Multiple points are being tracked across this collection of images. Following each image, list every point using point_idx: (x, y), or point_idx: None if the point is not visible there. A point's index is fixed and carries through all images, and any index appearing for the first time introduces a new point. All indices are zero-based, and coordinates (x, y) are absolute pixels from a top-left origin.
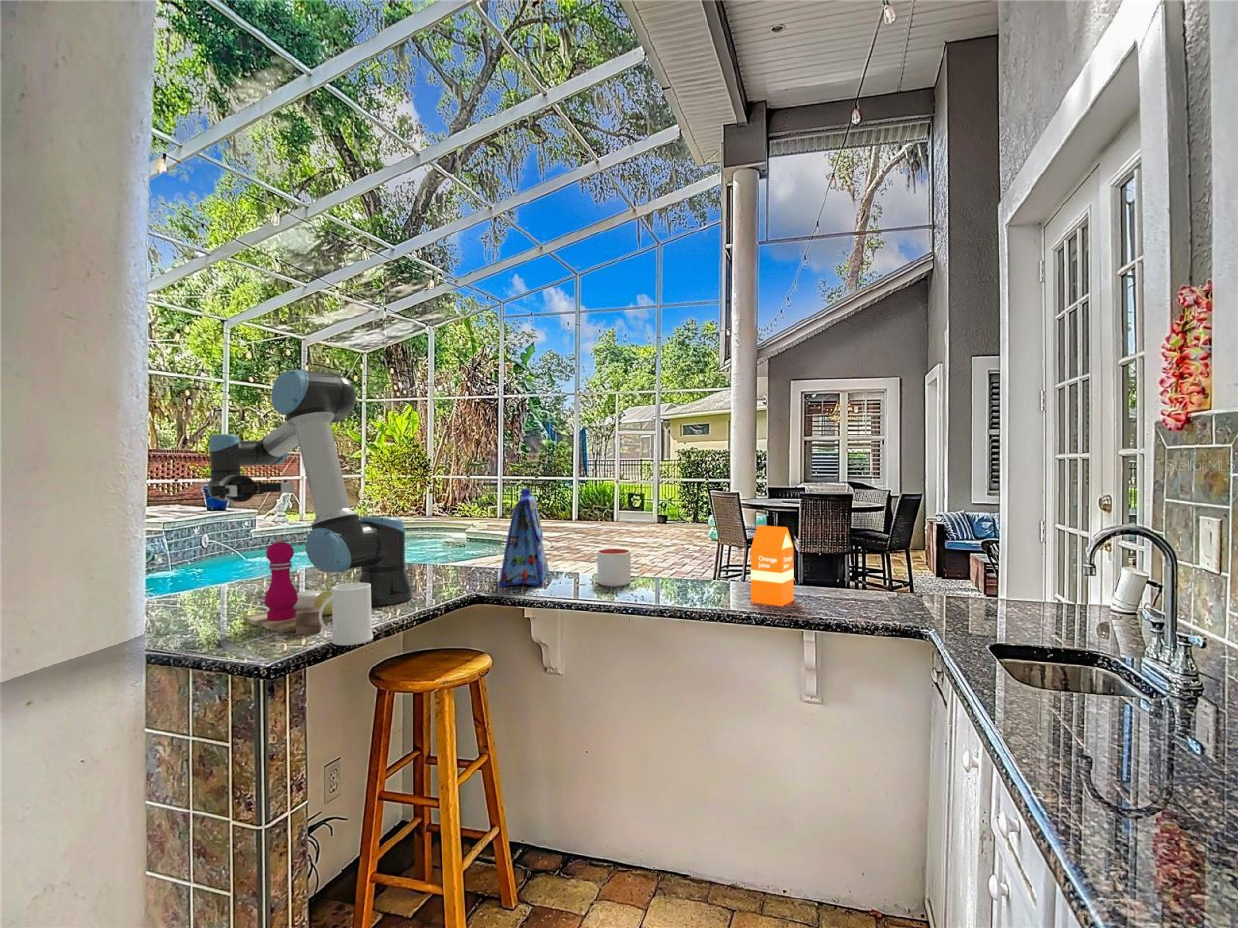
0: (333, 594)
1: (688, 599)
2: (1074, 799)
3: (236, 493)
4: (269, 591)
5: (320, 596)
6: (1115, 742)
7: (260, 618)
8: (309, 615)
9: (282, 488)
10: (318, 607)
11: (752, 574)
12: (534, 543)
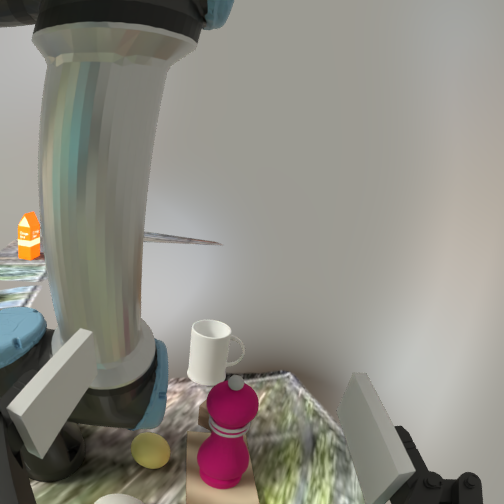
0: (231, 334)
1: (24, 272)
2: (191, 242)
3: (343, 401)
4: (246, 447)
5: (163, 441)
6: (159, 237)
7: (245, 493)
8: None
9: (45, 426)
10: (203, 405)
11: (30, 243)
12: None
